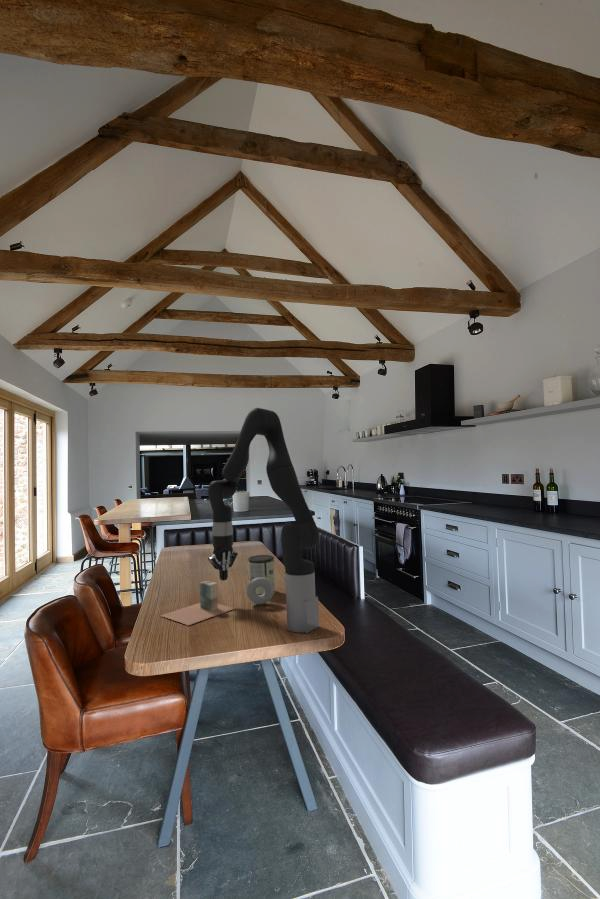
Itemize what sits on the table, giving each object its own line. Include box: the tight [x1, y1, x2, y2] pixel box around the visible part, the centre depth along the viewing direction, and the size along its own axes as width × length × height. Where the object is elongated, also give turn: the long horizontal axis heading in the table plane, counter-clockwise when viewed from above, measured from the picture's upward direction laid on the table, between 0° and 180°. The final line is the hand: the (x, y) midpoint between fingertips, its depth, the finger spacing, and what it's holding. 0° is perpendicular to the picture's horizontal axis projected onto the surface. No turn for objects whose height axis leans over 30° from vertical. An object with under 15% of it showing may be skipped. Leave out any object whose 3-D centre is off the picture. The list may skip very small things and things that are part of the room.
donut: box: [246, 577, 274, 605], centre depth 163 cm, size 10×3×10 cm, turn 98°
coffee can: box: [247, 554, 276, 595], centre depth 178 cm, size 10×10×14 cm
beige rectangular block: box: [199, 580, 219, 611], centre depth 160 cm, size 6×3×9 cm, turn 51°
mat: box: [160, 602, 236, 627], centre depth 156 cm, size 16×20×1 cm
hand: (223, 579), depth 165 cm, fingers closed
